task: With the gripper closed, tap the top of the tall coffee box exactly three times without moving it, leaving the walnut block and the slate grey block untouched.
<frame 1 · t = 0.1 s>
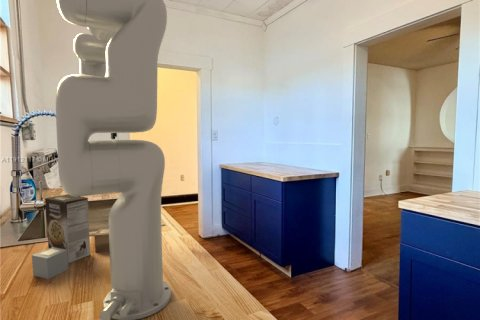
hand: (96, 139, 89), 31 cm above the countertop, tool pointing down, fingers open, 9 cm apart
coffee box: (69, 256, 76), on the countertop
walnut block: (106, 248, 81), on the countertop
slate block: (51, 272, 67), on the countertop
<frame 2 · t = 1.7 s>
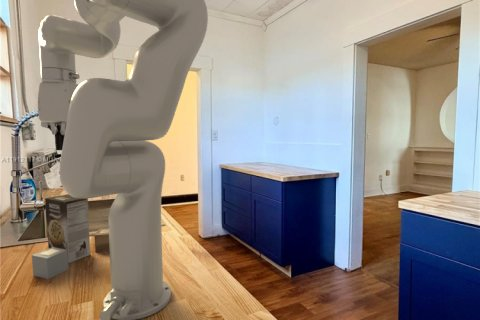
hand: (63, 149, 73), 29 cm above the countertop, tool pointing down, fingers closed
nothing on the countertop moved.
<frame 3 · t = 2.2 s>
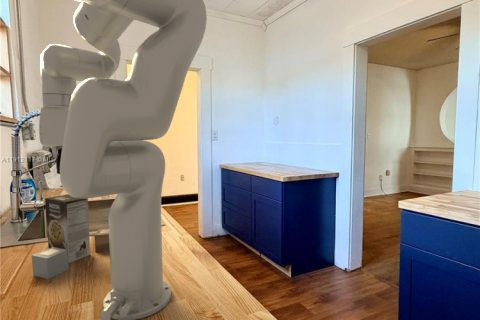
hand: (64, 173, 74), 23 cm above the countertop, tool pointing down, fingers closed
nothing on the countertop moved.
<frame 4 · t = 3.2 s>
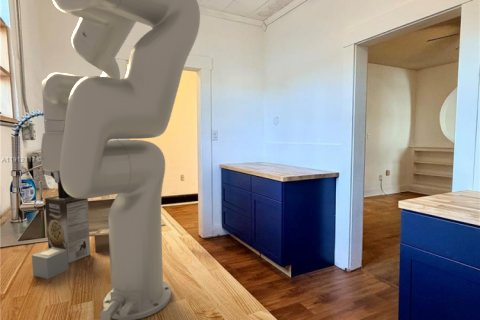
hand: (65, 197, 75), 16 cm above the countertop, tool pointing down, fingers closed
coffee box: (69, 256, 76), on the countertop, touching gripper
everything else where it was.
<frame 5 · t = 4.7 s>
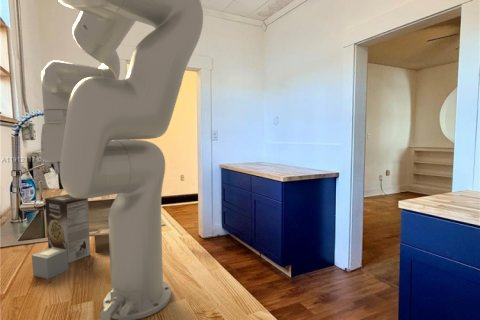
hand: (66, 188, 74), 19 cm above the countertop, tool pointing down, fingers closed
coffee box: (69, 256, 76), on the countertop
everything else where it was.
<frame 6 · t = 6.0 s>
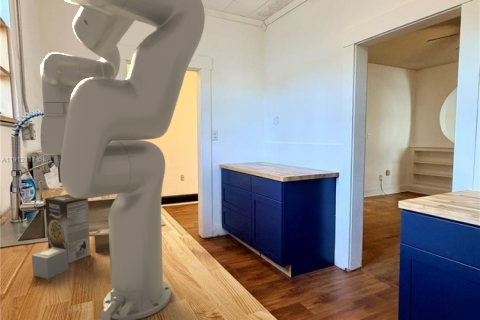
hand: (66, 181, 74), 20 cm above the countertop, tool pointing down, fingers closed
nothing on the countertop moved.
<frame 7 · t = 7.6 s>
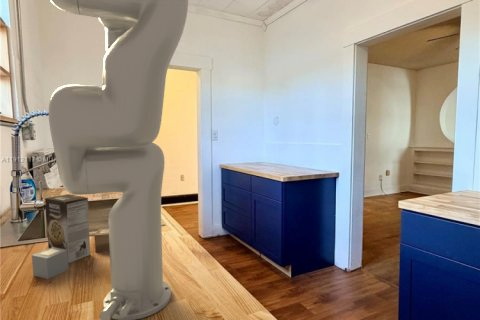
hand: (124, 125, 77), 35 cm above the countertop, tool pointing down, fingers closed
nothing on the countertop moved.
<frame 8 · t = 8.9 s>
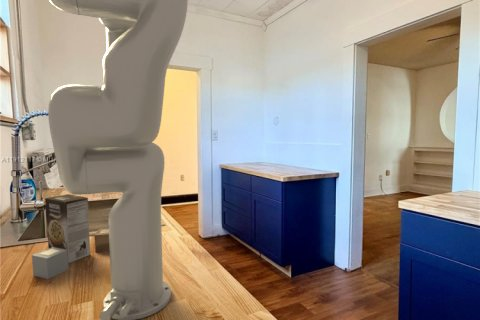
hand: (125, 125, 77), 35 cm above the countertop, tool pointing down, fingers closed
nothing on the countertop moved.
at the end: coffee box moved 0.2 cm from its start; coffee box tilted 0°; walnut block moved 0.1 cm from its start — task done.
